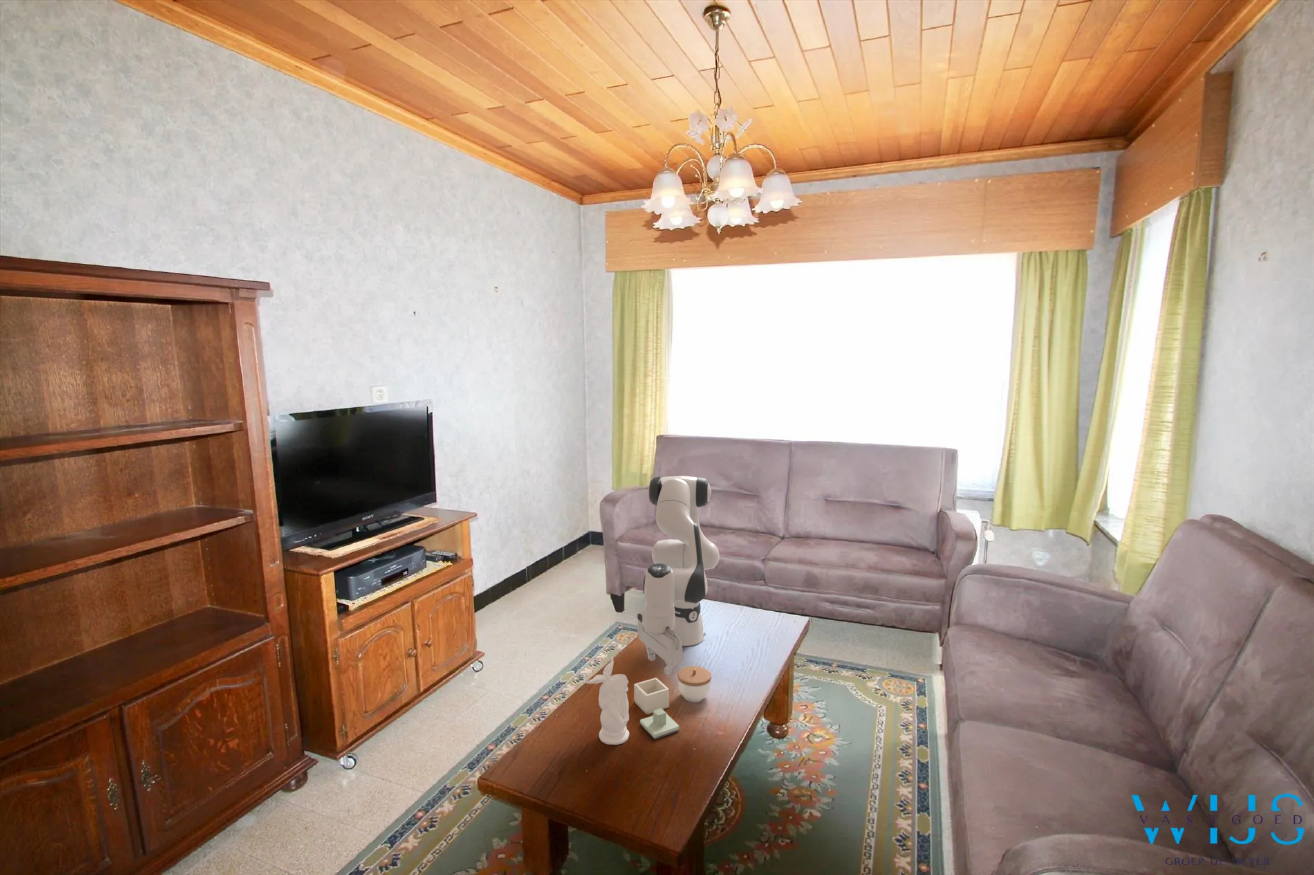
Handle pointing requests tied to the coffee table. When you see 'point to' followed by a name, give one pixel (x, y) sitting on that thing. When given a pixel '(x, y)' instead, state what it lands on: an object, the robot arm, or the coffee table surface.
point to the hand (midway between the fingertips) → (659, 666)
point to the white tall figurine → (612, 706)
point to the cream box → (651, 695)
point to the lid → (659, 723)
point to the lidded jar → (694, 683)
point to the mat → (661, 735)
